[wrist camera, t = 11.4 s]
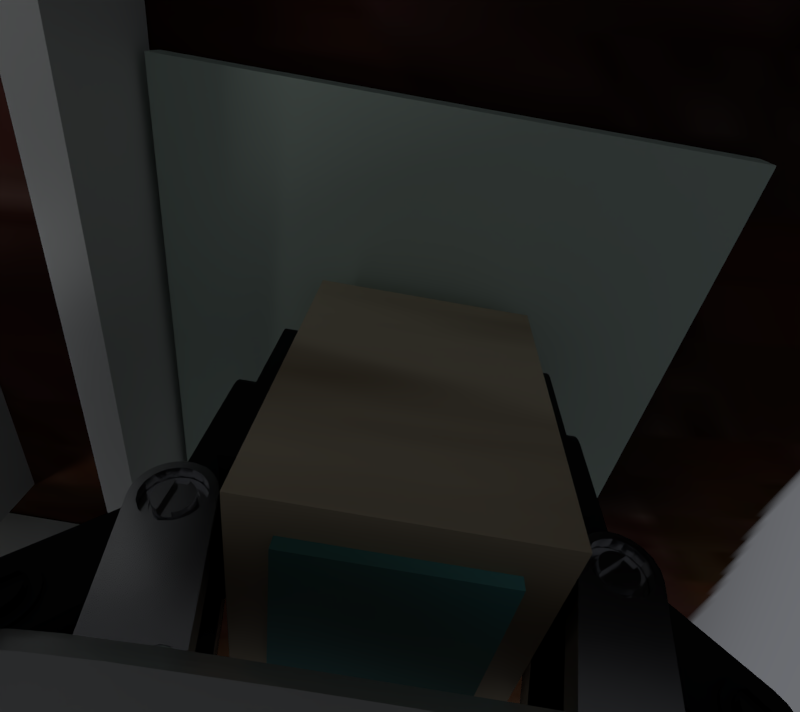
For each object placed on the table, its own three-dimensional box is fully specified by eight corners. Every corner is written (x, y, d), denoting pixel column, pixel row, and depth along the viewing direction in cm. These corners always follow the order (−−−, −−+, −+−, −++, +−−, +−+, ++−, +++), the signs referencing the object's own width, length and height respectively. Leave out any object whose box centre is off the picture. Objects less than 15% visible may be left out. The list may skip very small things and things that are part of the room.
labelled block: (478, 462, 14) (498, 732, 8) (311, 434, 14) (226, 689, 8) (527, 315, 11) (596, 568, 6) (322, 280, 11) (213, 504, 6)
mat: (563, 538, 17) (566, 554, 16) (198, 477, 17) (190, 491, 16) (760, 158, 10) (777, 166, 10) (159, 49, 10) (144, 50, 9)
